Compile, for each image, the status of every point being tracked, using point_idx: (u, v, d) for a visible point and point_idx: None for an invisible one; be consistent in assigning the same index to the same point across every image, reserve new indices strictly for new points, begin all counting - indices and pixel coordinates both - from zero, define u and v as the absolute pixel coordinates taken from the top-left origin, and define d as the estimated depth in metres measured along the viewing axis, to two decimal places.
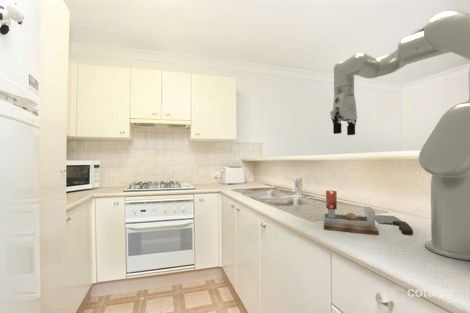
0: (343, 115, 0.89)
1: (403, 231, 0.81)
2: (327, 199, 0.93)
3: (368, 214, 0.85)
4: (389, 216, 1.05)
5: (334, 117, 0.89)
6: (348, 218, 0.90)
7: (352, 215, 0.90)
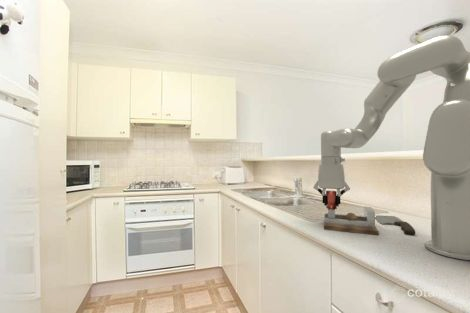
0: None
1: (405, 232, 0.81)
2: (327, 199, 0.93)
3: (368, 214, 0.85)
4: (390, 216, 1.05)
5: None
6: (348, 218, 0.90)
7: (352, 215, 0.90)
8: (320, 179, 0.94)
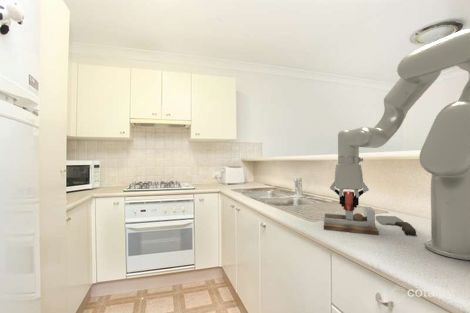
0: None
1: (406, 232, 0.80)
2: (344, 200, 0.91)
3: (368, 214, 0.85)
4: (391, 217, 1.04)
5: None
6: (357, 216, 0.89)
7: (362, 219, 0.88)
8: (337, 179, 0.91)
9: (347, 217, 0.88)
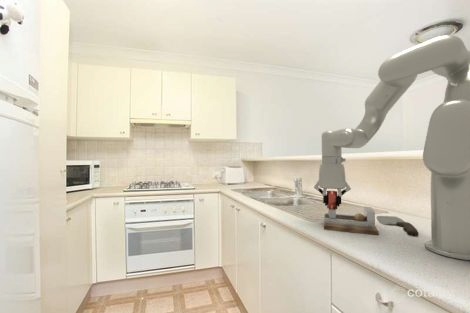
0: None
1: (408, 232, 0.80)
2: (328, 199, 0.93)
3: (368, 214, 0.85)
4: (392, 217, 1.04)
5: None
6: (359, 216, 0.88)
7: (364, 220, 0.88)
8: (321, 179, 0.94)
9: (330, 216, 0.91)
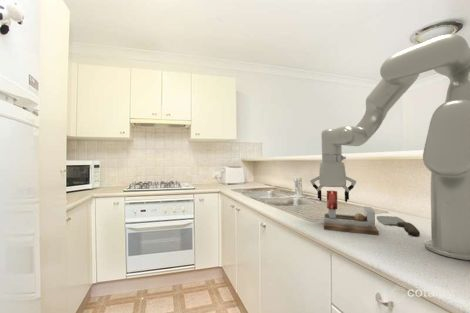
0: None
1: (410, 233, 0.80)
2: (328, 199, 0.93)
3: (368, 214, 0.85)
4: (392, 217, 1.04)
5: None
6: (359, 216, 0.88)
7: (363, 220, 0.88)
8: (321, 177, 0.93)
9: (330, 216, 0.91)
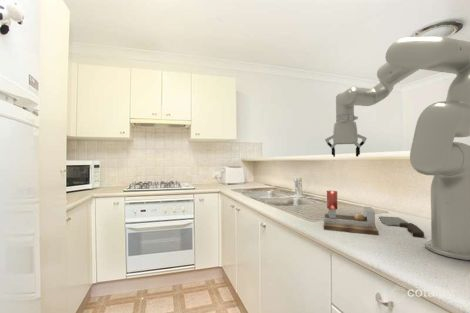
0: None
1: (414, 234, 0.79)
2: (328, 199, 0.93)
3: (368, 214, 0.85)
4: (394, 217, 1.03)
5: None
6: (359, 216, 0.89)
7: (363, 220, 0.88)
8: (335, 135, 1.05)
9: (330, 216, 0.91)
